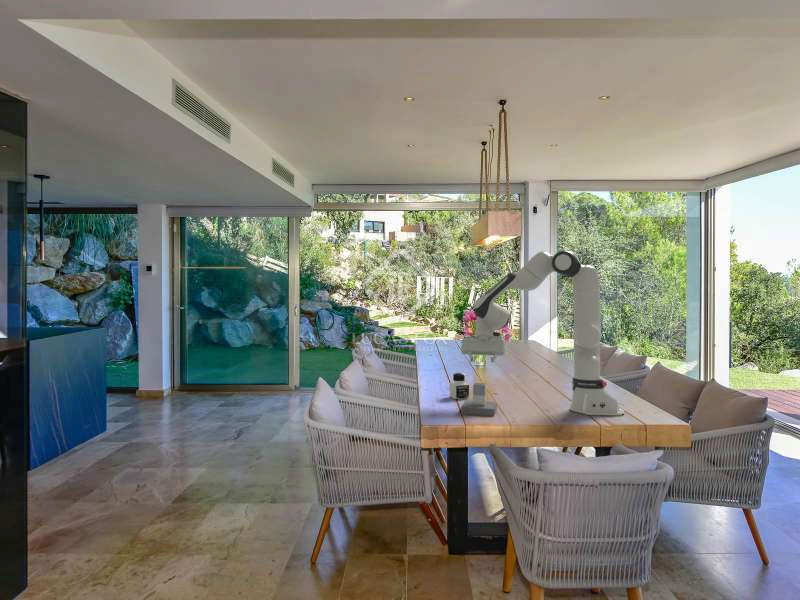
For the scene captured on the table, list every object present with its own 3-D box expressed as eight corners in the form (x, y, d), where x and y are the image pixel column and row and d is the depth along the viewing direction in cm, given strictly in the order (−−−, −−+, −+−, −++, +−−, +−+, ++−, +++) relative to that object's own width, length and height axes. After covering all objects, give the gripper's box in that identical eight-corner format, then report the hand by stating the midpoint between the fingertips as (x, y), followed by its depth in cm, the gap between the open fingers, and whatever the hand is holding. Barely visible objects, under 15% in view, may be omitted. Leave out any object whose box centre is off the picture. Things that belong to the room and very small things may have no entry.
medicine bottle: (456, 399, 258) (456, 375, 257) (449, 397, 264) (449, 372, 264) (469, 398, 260) (469, 374, 260) (462, 395, 267) (462, 371, 267)
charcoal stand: (496, 408, 239) (496, 402, 239) (494, 416, 226) (494, 409, 226) (465, 406, 243) (465, 400, 243) (461, 414, 229) (461, 407, 229)
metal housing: (485, 403, 236) (485, 383, 236) (484, 406, 231) (484, 385, 231) (474, 403, 237) (474, 382, 237) (473, 405, 232) (473, 384, 232)
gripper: (461, 332, 253) (458, 356, 244) (505, 333, 248) (504, 357, 239) (462, 341, 257) (459, 364, 248) (506, 342, 252) (504, 366, 243)
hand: (481, 361), depth 243 cm, fingers open, 8 cm apart
